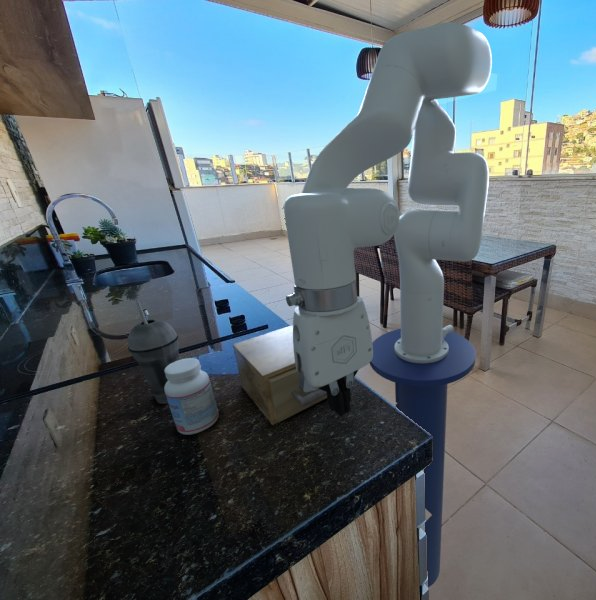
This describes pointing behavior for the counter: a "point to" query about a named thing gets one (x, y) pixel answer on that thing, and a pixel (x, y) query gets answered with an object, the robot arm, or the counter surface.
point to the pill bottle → (190, 396)
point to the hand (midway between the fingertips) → (340, 409)
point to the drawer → (291, 395)
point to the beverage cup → (154, 351)
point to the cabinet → (264, 365)
